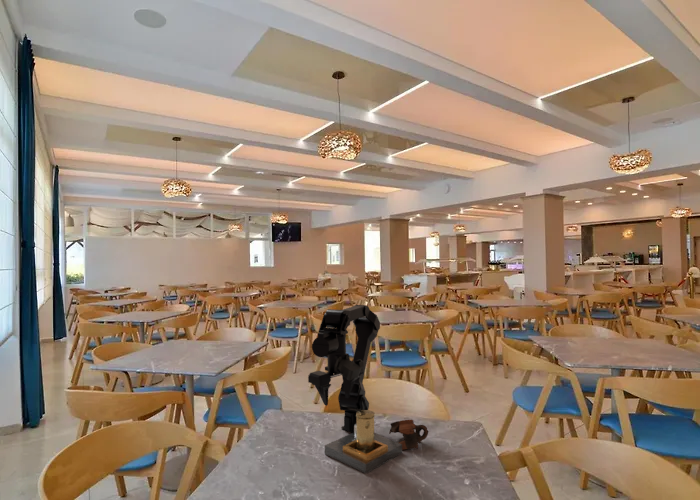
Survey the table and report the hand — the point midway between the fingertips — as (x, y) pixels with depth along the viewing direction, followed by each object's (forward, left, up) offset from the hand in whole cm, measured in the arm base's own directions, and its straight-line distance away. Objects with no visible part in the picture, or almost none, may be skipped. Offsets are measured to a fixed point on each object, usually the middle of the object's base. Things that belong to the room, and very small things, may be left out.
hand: (336, 401), depth 125 cm
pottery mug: (-16, +16, -13) cm, 26 cm away
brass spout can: (+2, +14, -13) cm, 19 cm away
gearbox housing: (-1, +10, -13) cm, 16 cm away
